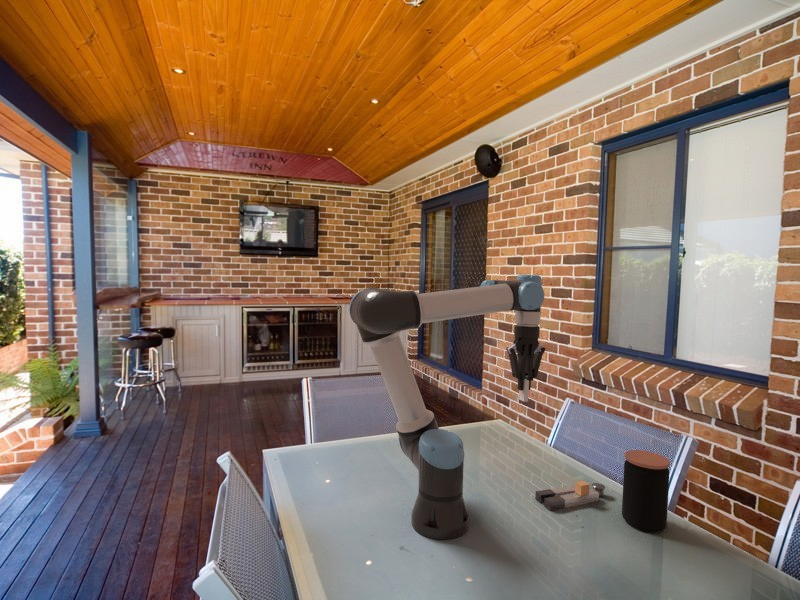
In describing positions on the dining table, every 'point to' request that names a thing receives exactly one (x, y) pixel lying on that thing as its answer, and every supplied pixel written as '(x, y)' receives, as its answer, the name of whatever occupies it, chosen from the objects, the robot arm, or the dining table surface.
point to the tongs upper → (553, 493)
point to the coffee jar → (645, 490)
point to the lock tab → (582, 488)
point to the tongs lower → (574, 498)
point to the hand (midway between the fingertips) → (523, 400)
